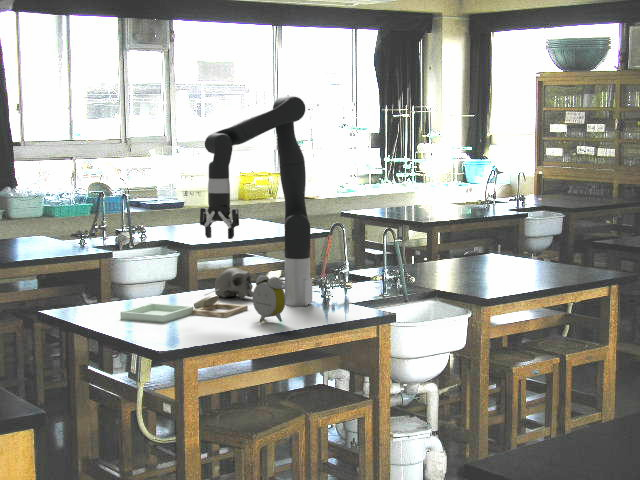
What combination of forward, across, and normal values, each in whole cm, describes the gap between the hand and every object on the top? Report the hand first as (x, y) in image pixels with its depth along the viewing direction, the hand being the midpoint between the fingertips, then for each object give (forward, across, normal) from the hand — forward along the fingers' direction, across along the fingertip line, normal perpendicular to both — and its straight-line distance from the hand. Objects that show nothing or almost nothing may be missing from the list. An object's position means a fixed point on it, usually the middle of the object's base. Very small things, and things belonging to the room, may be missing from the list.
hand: (219, 238), depth 361 cm
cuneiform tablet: (+21, +1, +1) cm, 21 cm away
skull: (+26, +10, -29) cm, 40 cm away
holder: (+26, 0, 0) cm, 26 cm away
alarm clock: (+26, -22, +8) cm, 35 cm away
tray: (+26, +16, +16) cm, 34 cm away
